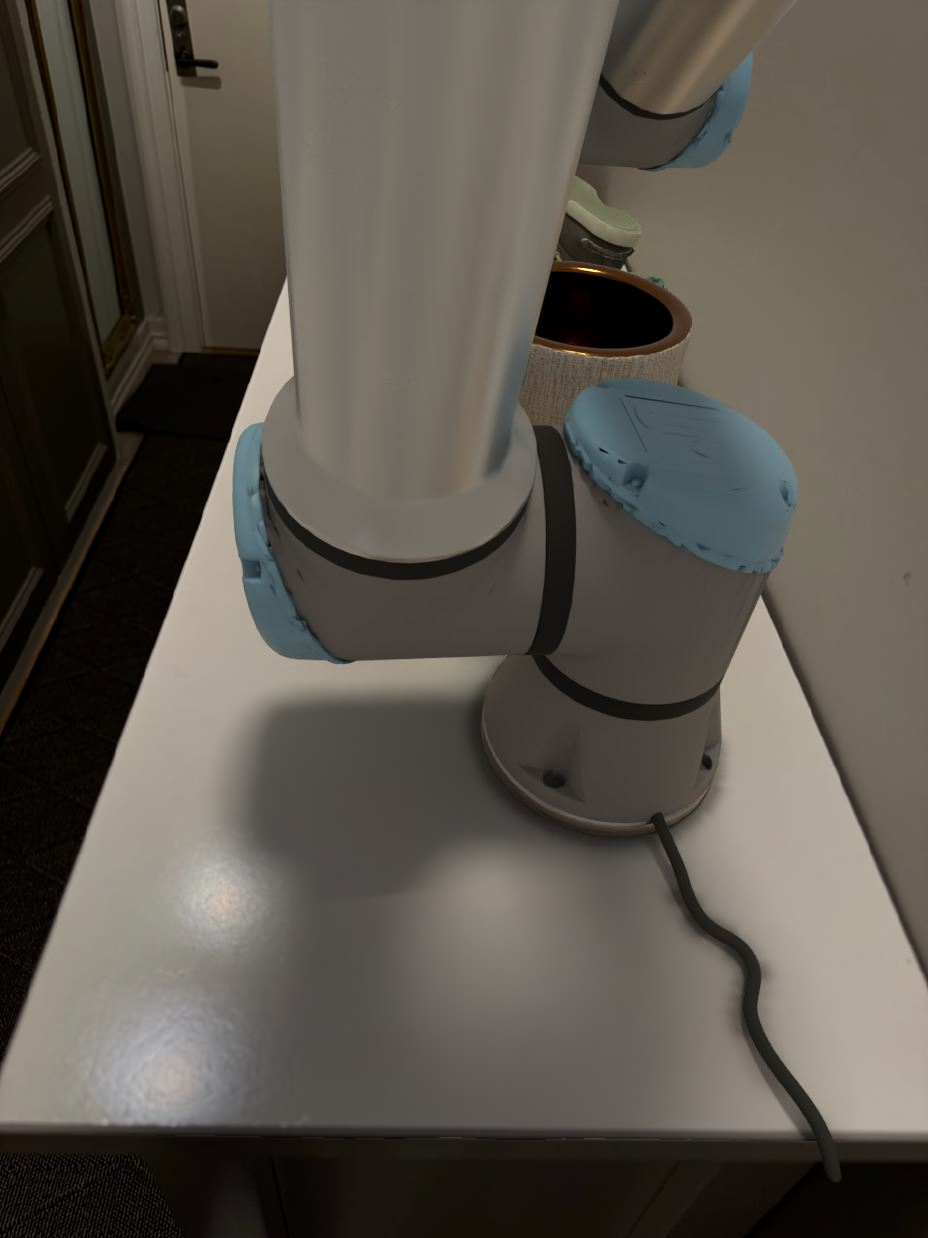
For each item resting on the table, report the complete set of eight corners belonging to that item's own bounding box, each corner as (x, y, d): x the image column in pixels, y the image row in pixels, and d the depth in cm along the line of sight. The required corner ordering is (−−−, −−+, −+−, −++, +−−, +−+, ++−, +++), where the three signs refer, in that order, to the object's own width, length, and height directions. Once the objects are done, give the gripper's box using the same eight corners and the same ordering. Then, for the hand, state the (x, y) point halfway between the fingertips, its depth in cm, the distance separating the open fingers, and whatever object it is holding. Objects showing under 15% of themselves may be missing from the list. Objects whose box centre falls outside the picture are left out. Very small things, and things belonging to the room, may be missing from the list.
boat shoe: (511, 144, 119) (493, 208, 125) (566, 211, 99) (541, 284, 104) (584, 165, 123) (563, 226, 128) (651, 234, 102) (623, 304, 108)
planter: (678, 464, 81) (728, 302, 70) (593, 557, 69) (637, 381, 58) (518, 399, 87) (541, 241, 76) (416, 475, 75) (426, 302, 65)
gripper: (455, 247, 53) (432, 541, 69) (413, 160, 64) (402, 430, 80) (333, 246, 51) (339, 547, 68) (312, 157, 63) (321, 433, 79)
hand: (373, 483), depth 74 cm, fingers open, 3 cm apart
